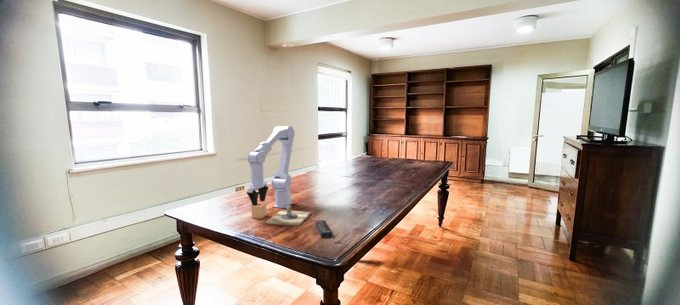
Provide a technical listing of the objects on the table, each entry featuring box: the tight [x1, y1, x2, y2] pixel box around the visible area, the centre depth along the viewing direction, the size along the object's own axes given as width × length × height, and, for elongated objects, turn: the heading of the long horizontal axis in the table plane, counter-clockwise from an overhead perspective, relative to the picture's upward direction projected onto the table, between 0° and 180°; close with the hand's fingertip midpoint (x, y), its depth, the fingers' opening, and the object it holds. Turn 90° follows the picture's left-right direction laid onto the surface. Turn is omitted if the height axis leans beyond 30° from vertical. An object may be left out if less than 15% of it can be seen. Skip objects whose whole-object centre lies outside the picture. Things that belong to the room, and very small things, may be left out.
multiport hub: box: [315, 219, 333, 239], centre depth 123 cm, size 4×14×2 cm, turn 14°
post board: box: [266, 205, 311, 227], centre depth 138 cm, size 16×16×6 cm
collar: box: [250, 202, 268, 220], centre depth 142 cm, size 5×5×6 cm
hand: (258, 203), depth 141 cm, fingers open, 7 cm apart
